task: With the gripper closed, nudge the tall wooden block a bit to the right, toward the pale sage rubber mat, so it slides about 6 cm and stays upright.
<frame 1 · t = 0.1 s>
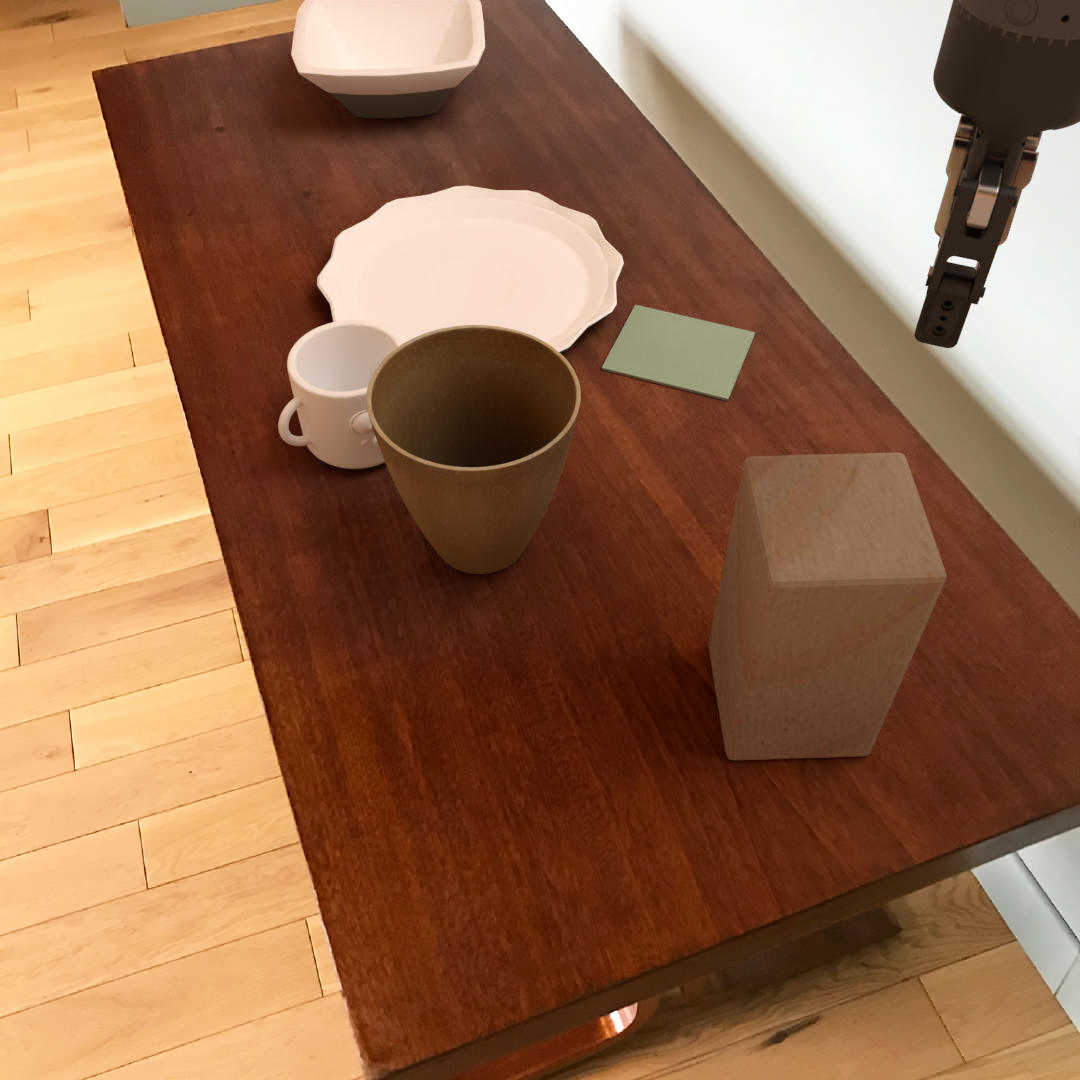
hand: (945, 294, 61), 30 cm above the table, tool pointing down, fingers open, 8 cm apart
bowl: (396, 97, 136), on the table
plate: (472, 290, 111), on the table
wooden block: (785, 700, 80), on the table
mug: (352, 446, 97), on the table
plant pot: (483, 542, 90), on the table
mat: (679, 352, 104), on the table
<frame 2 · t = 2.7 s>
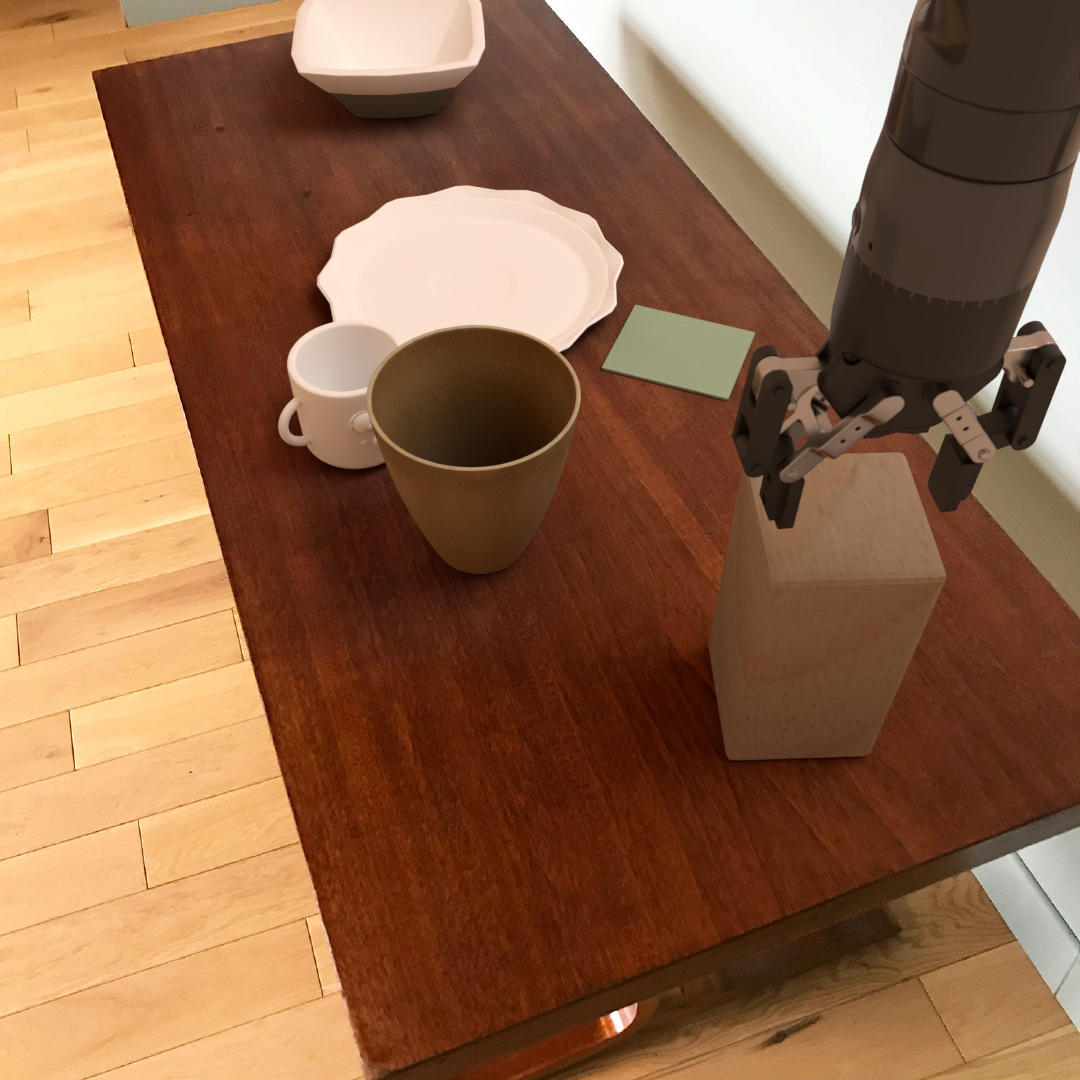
hand: (860, 508, 57), 26 cm above the table, tool pointing down, fingers open, 8 cm apart
nothing on the table moved.
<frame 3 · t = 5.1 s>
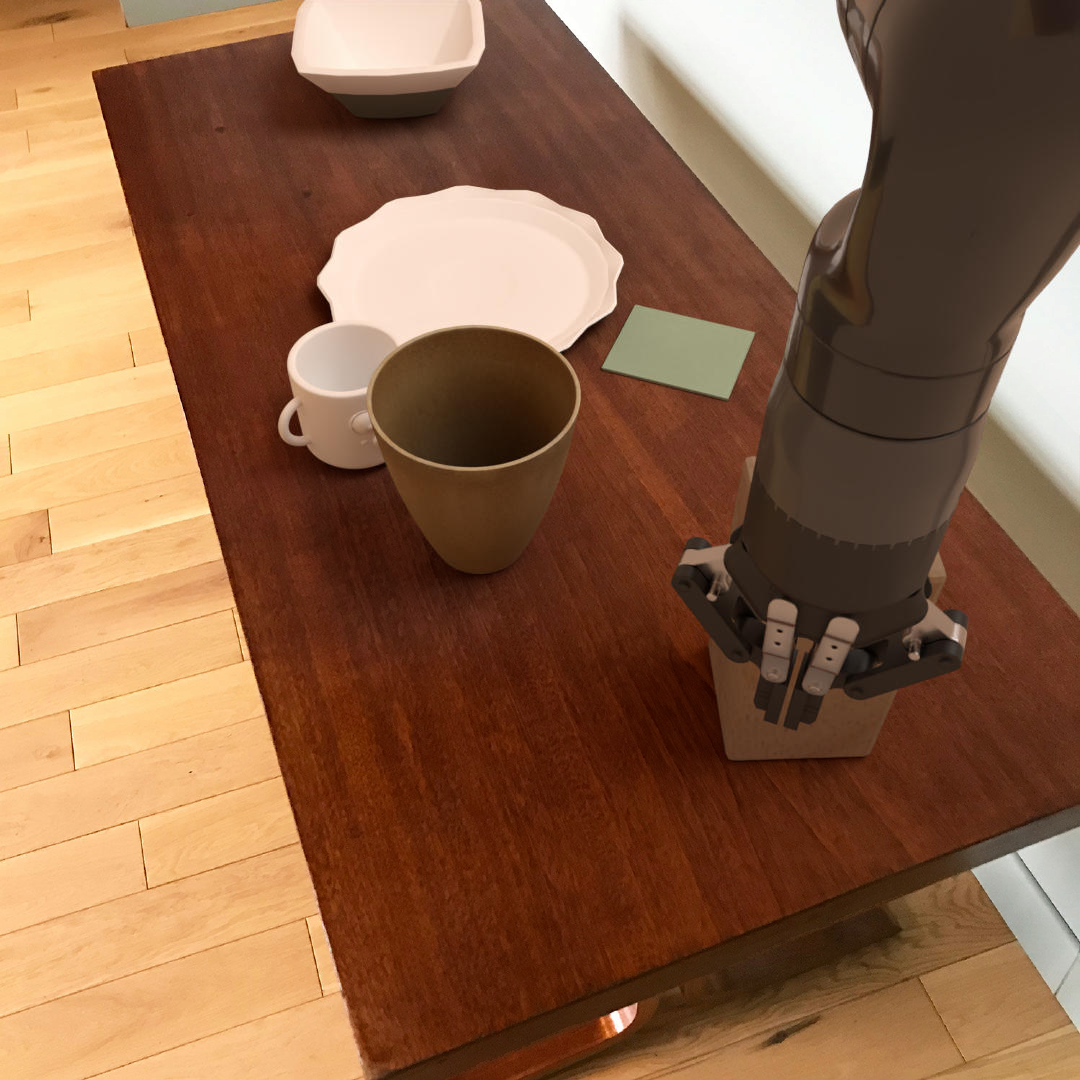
hand: (784, 711, 55), 21 cm above the table, tool pointing down, fingers closed
nothing on the table moved.
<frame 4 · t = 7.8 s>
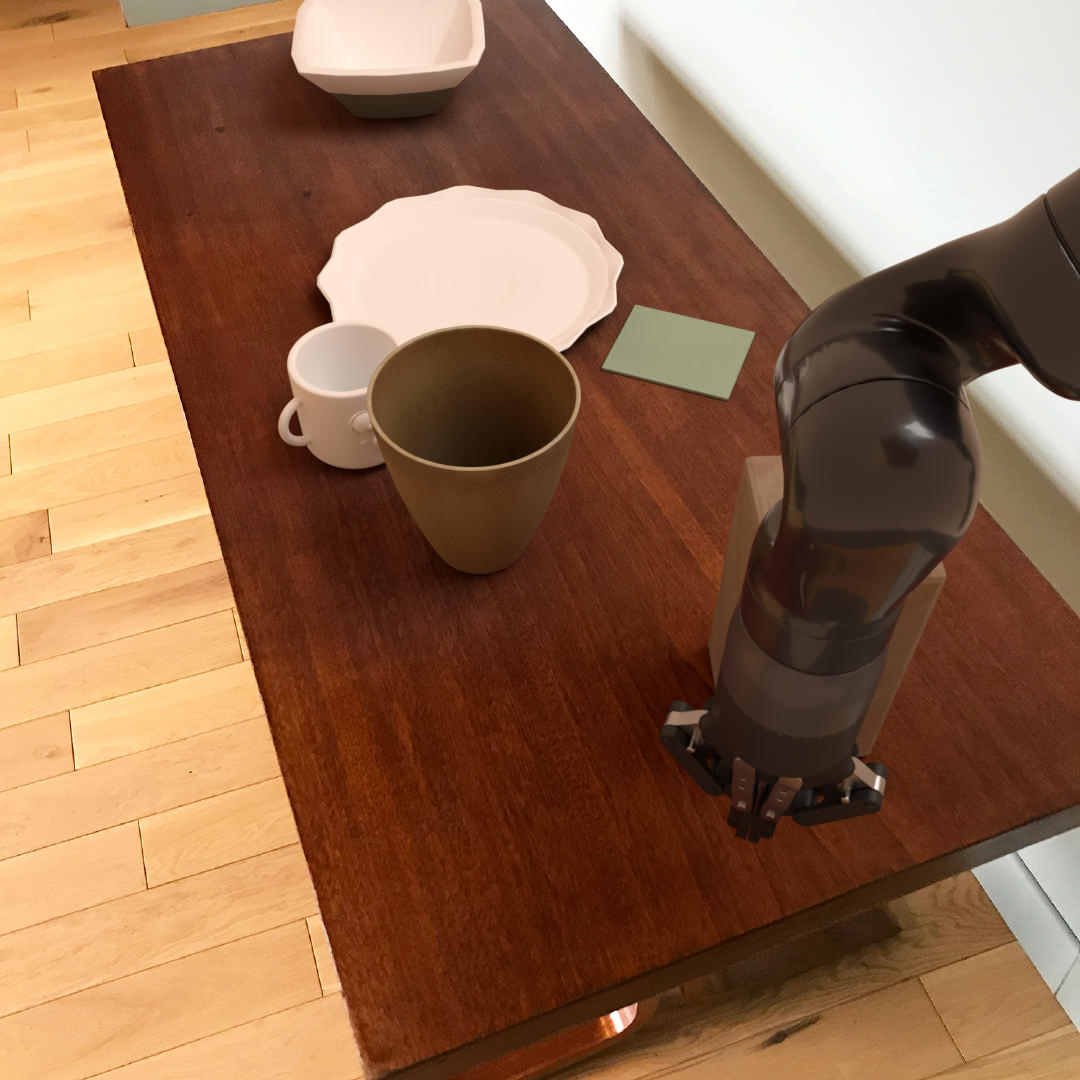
hand: (750, 827, 68), 5 cm above the table, tool pointing down, fingers closed
nothing on the table moved.
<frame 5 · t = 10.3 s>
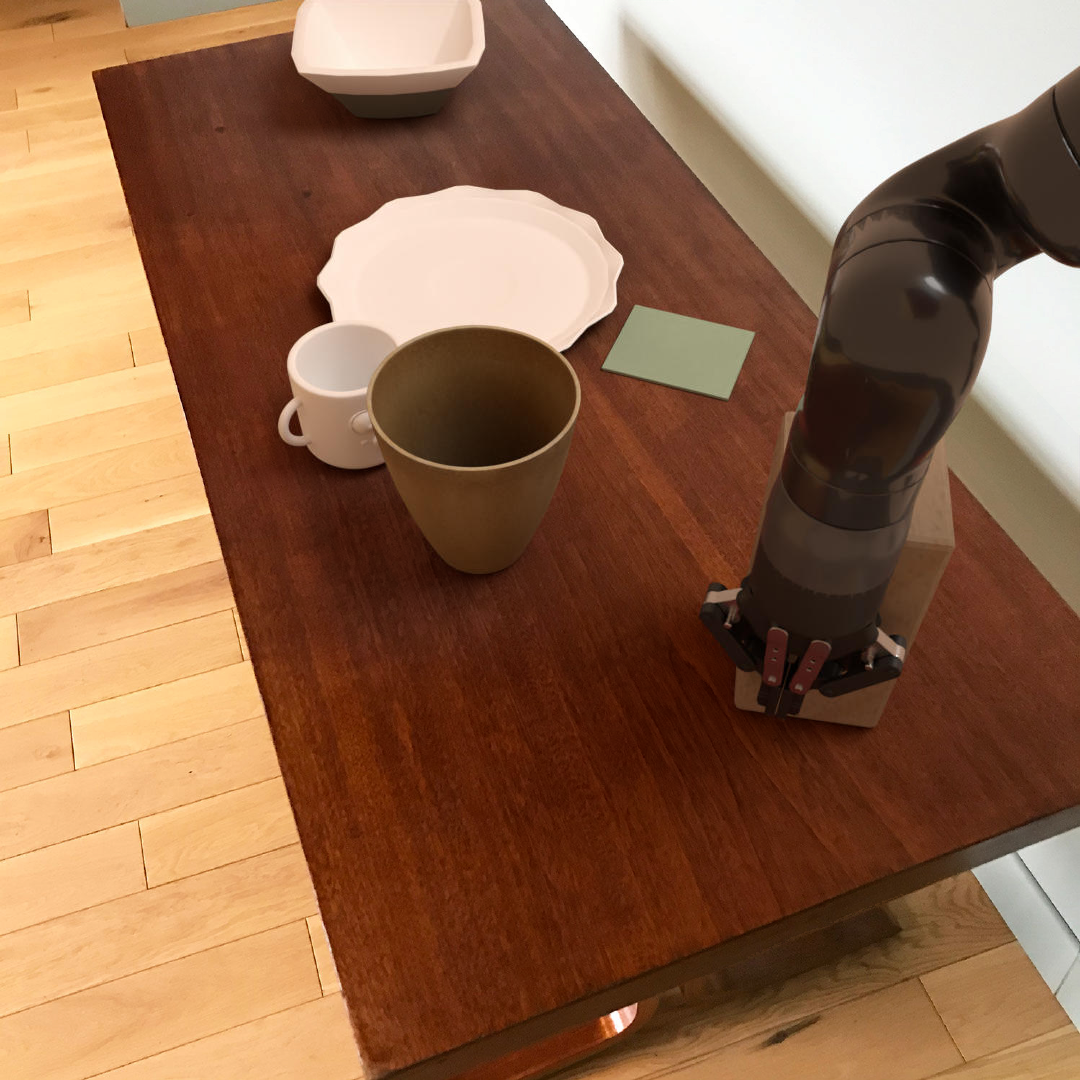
hand: (777, 706, 74), 4 cm above the table, tool pointing down, fingers closed
wooden block: (804, 664, 82), on the table, touching hand
everything else where it was.
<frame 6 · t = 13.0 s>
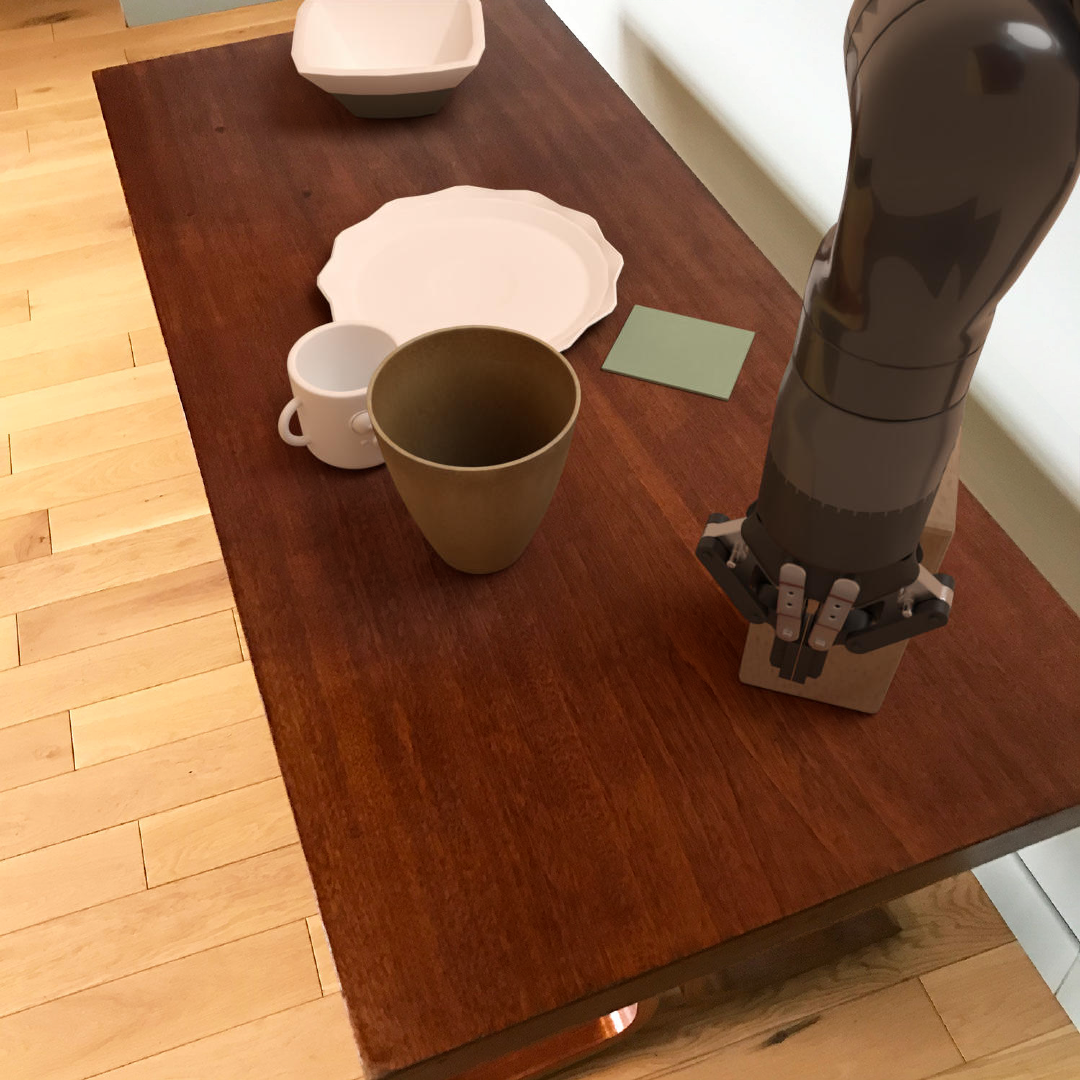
hand: (795, 668, 61), 17 cm above the table, tool pointing down, fingers closed
wooden block: (814, 647, 83), on the table
everything else where it was.
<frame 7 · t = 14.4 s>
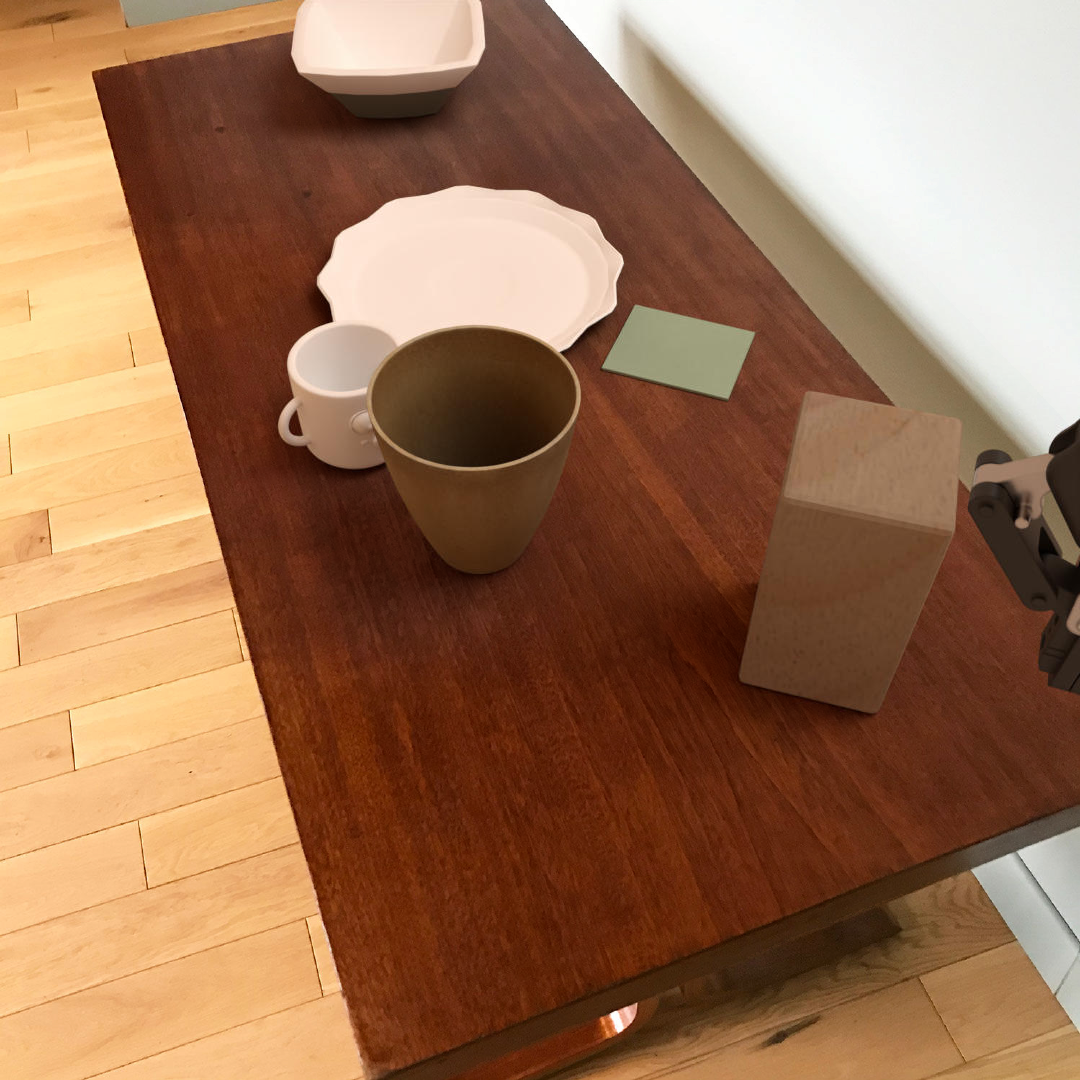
hand: (1068, 674, 44), 31 cm above the table, tool pointing down, fingers closed
nothing on the table moved.
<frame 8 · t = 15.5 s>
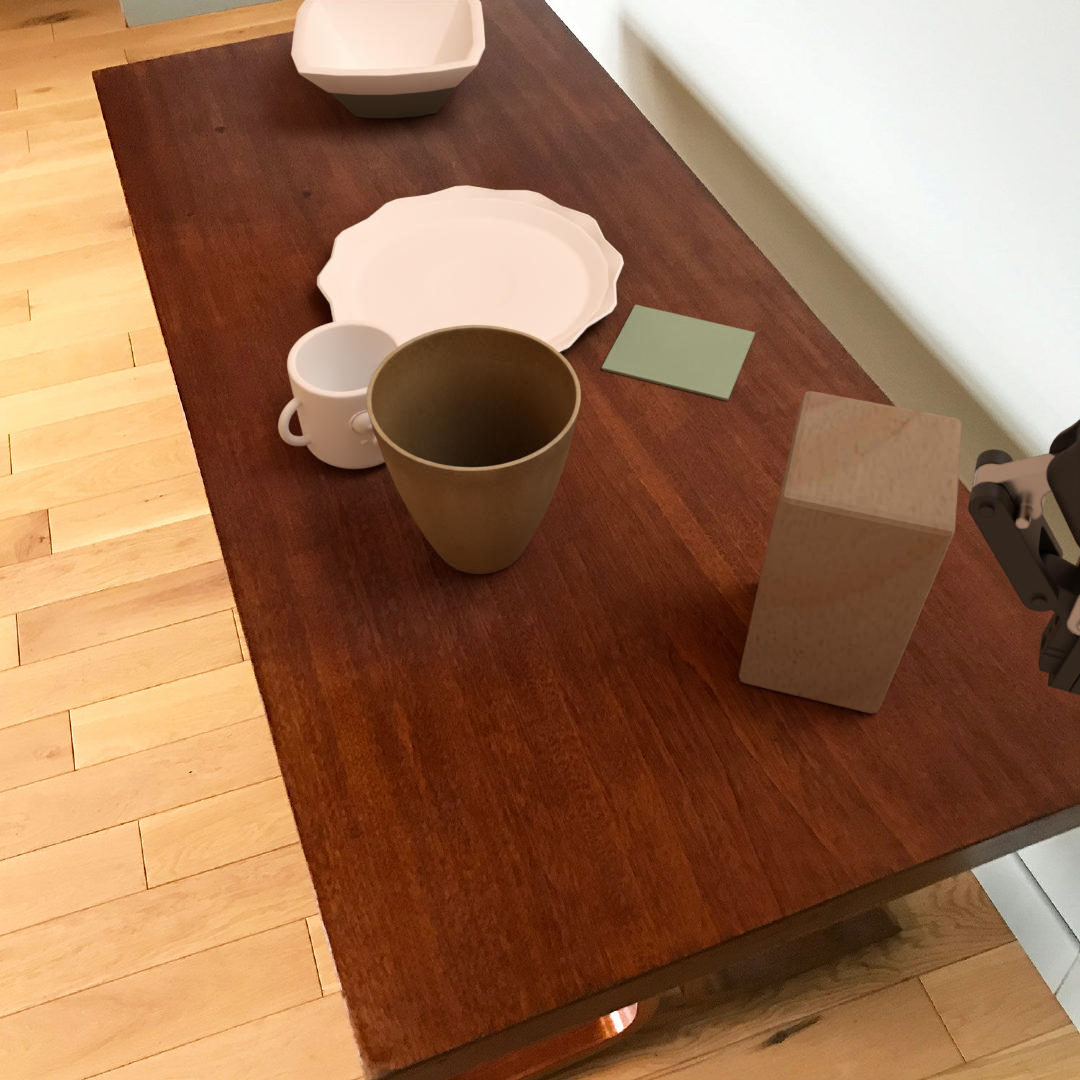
hand: (1069, 674, 44), 31 cm above the table, tool pointing down, fingers closed
nothing on the table moved.
at the end: wooden block moved 5.5 cm from its start; wooden block tilted 0° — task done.
